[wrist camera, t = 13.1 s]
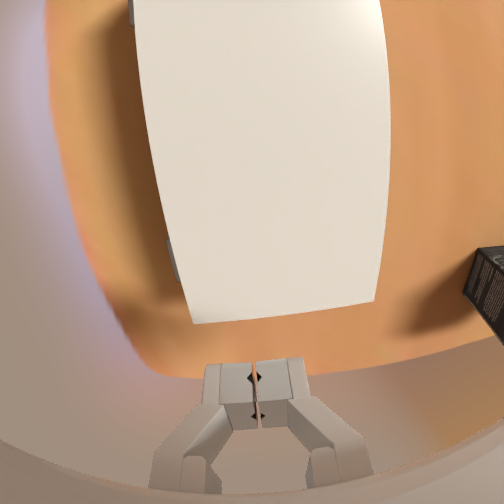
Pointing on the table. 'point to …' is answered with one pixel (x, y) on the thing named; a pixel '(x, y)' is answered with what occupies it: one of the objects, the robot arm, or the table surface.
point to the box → (488, 287)
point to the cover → (268, 149)
